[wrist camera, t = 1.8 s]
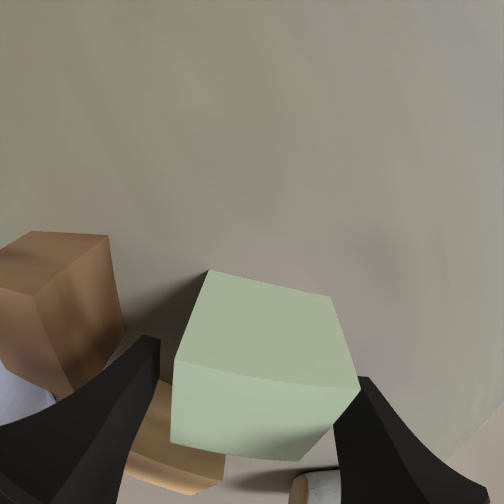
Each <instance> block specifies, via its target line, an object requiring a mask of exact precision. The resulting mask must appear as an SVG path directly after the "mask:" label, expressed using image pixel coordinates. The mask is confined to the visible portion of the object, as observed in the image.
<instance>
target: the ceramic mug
mask: <svg viewBox="0 0 504 504" xmlns="http://www.w3.org/2000/svg"><path fill="white" fill-rule="evenodd" d="M288 504H341V477H340V469H339V470H330V471H316V472H309V473H304V474H301V475H299V476H297V477H296V478H295V479H294V481H293V483H292V486H291V490H290V495H289V502H288Z"/></svg>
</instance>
